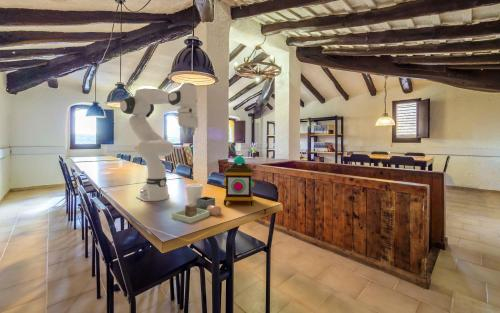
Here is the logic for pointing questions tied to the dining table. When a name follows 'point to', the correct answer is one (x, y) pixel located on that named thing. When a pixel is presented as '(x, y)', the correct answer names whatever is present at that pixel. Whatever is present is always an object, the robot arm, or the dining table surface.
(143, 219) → the dining table surface
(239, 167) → the decorative lantern
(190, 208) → the walnut block
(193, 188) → the foam cup
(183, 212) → the pale green tray
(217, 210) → the potato
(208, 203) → the dark grey square bin
